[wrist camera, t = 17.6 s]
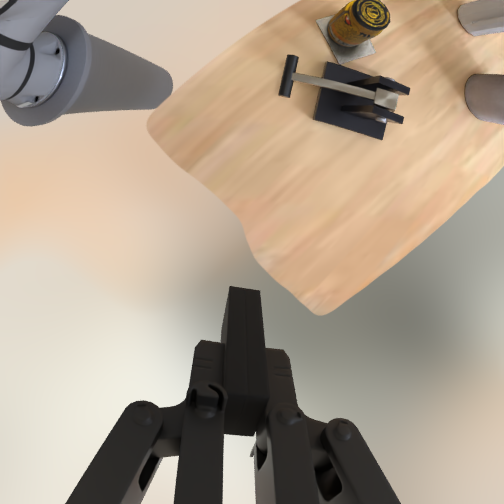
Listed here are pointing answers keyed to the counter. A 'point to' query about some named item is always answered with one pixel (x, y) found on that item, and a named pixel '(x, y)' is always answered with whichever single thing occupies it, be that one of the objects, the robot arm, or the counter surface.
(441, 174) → the counter surface
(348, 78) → the bracket
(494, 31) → the water bottle
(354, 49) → the condiment
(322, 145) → the counter surface
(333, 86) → the lever
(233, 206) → the counter surface
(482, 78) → the pillar candle
